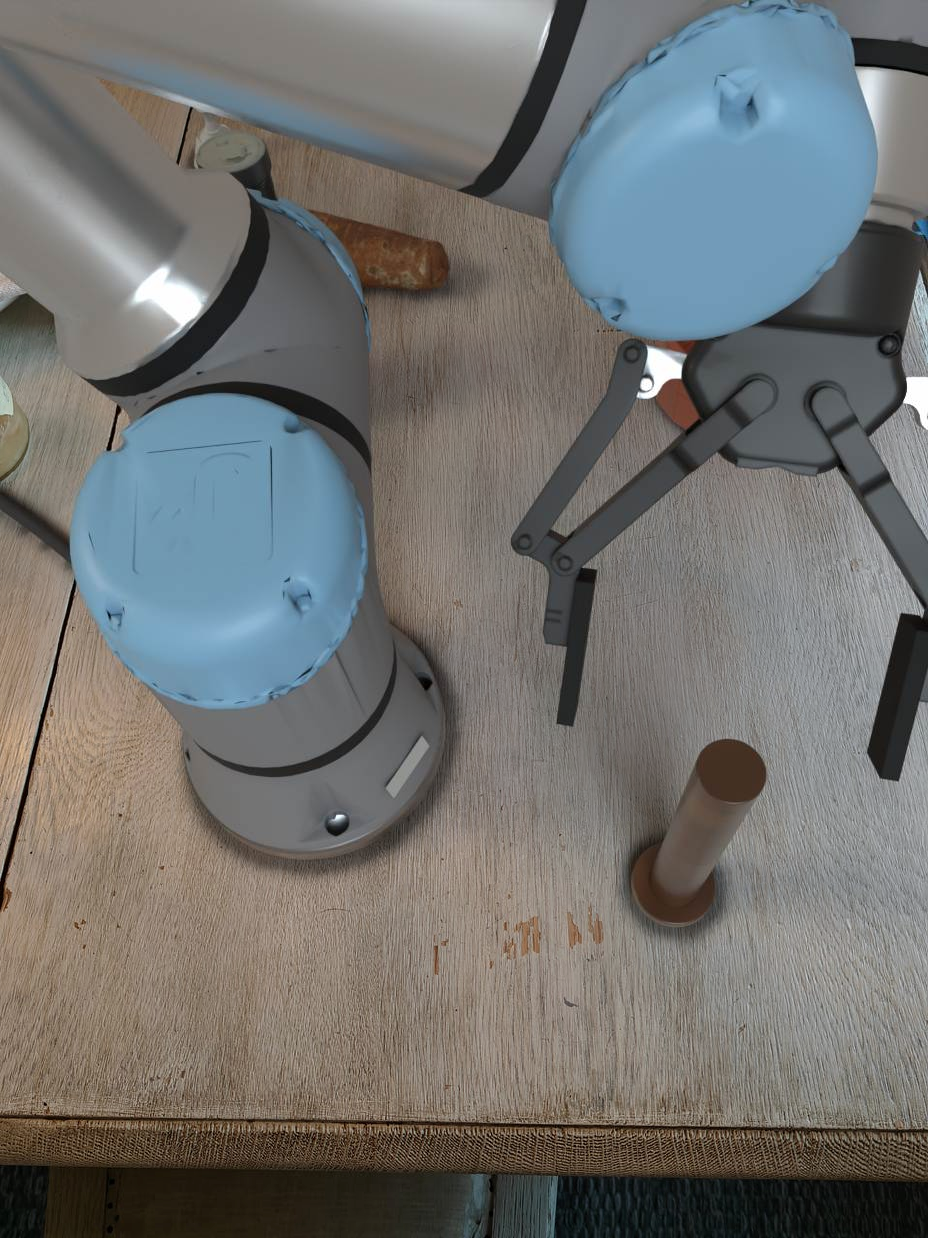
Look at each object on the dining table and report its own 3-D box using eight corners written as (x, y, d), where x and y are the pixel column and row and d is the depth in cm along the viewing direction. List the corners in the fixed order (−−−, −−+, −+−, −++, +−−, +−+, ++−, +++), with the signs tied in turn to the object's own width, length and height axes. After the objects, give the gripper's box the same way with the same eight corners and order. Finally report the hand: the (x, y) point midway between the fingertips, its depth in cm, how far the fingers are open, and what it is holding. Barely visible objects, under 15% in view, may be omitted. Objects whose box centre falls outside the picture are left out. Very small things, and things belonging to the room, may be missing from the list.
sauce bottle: (333, 439, 68) (264, 197, 51) (250, 429, 69) (155, 189, 52) (356, 371, 71) (298, 121, 54) (277, 363, 72) (195, 114, 55)
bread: (240, 233, 80) (221, 174, 75) (459, 266, 76) (454, 206, 71) (210, 285, 77) (188, 227, 72) (436, 322, 73) (429, 263, 68)
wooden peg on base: (618, 904, 51) (653, 796, 36) (649, 832, 53) (697, 698, 37) (695, 942, 50) (768, 848, 34) (725, 867, 52) (807, 745, 36)
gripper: (1134, 261, 37) (993, 754, 44) (509, 209, 41) (460, 668, 48) (1245, 241, 30) (1058, 833, 37) (478, 180, 34) (426, 724, 40)
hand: (720, 740), depth 42 cm, fingers open, 13 cm apart
